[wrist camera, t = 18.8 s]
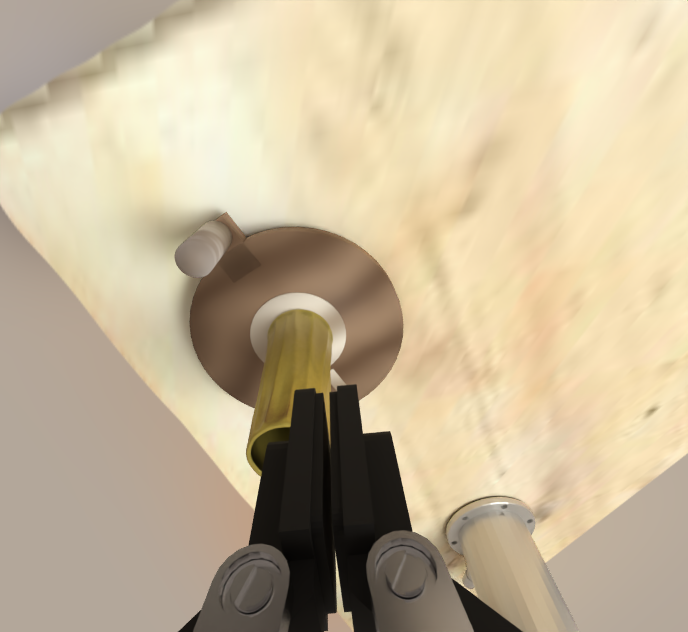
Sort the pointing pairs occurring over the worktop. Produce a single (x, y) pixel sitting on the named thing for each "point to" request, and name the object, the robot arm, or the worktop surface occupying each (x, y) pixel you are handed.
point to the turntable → (287, 302)
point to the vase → (289, 377)
